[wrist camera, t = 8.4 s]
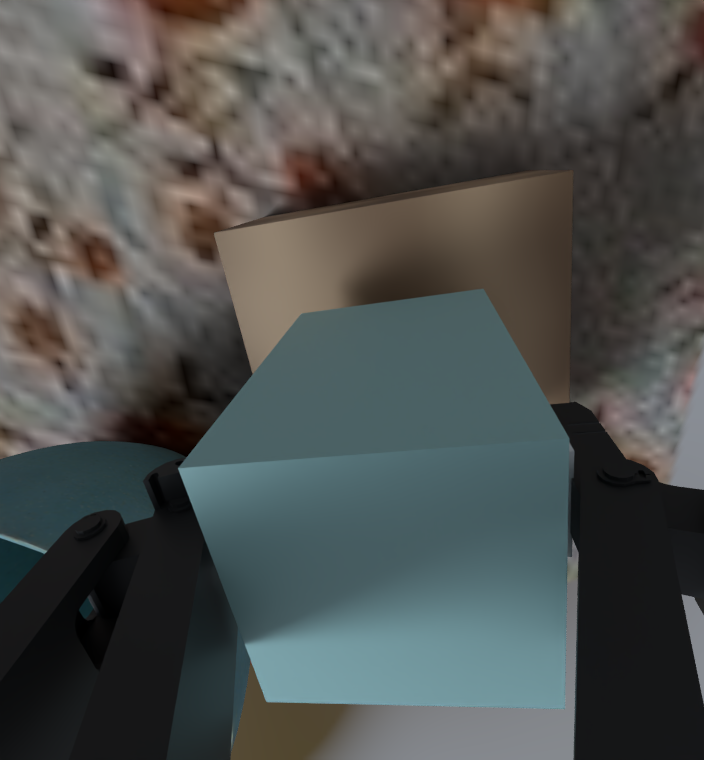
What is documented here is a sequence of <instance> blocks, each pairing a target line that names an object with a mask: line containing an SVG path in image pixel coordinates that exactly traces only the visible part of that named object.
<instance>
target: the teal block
mask: <svg viewBox="0 0 704 760" xmlns="http://www.w3.org/2000/svg"><path fill="white" fill-rule="evenodd" d="M178 470H179V472H180V475H181V478H182V480H183V483H184V485H185V488H186V491H187V493H188V496H189V499H190V501H191V504H192V507H193V509H194V512H195V514H196V517H197V520H198V522H199V525H200V528H201V530H202V533H203V536H204V538H205V541H206V543H207V546H208V549H209V551H210V554H211V557H212V559H213V562H214V565H215V567H216V570H217V572H218V575H219V578H220V580H221V583H222V586H223V588H224V591H225V594H226V596H227V599H228V601H229V604H230V607H231V609H232V612H233V615H234V617H235V620H236V623H237V625H238V628H239V630H240V633H241V636H242V638H243V641H244V644H245V646H246V649H247V652H248V654H249V657H250V659H251V662H252V665H253V667H254V670H255V673H256V675H257V678H258V681H259V683H260V686H261V688H262V691H263V694H264V696H265V699H266V702H291V703H332V704H335V703H336V704H374V705H377V704H378V705H417V706H418V705H419V706H420V705H421V706H459V707H461V706H462V707H501V708H503V707H504V708H544V709H565V673H566V672H565V670H566V613H567V609H566V607H567V552H568V491H569V437H568V435H567V433H566V432H565V430H564V428H563V426H562V425H561V423H560V421H559V419H558V418H557V416H556V414H555V412H554V411H553V409H552V407H551V405H550V404H549V402H548V400H547V399H546V397H545V395H544V393H543V392H542V390H541V388H540V386H539V385H538V383H537V381H536V379H535V378H534V376H533V374H532V372H531V371H530V369H529V367H528V365H527V364H526V362H525V360H524V358H523V357H522V355H521V353H520V351H519V350H518V348H517V346H516V345H515V343H514V341H513V339H512V338H511V336H510V334H509V332H508V331H507V329H506V327H505V325H504V324H503V322H502V320H501V318H500V317H499V315H498V313H497V311H496V310H495V308H494V306H493V304H492V303H491V301H490V299H489V297H488V296H487V294H486V292H485V291H484V289H477V290H470V291H462V292H455V293H448V294H440V295H433V296H426V297H418V298H411V299H404V300H396V301H389V302H382V303H374V304H367V305H360V306H352V307H345V308H338V309H330V310H323V311H316V312H308V313H301V314H300V316H299V317H298V318H297V319H296V321H295V322H294V323H293V324H292V326H291V327H290V328H289V330H288V331H287V332H286V333H285V335H284V336H283V337H282V338H281V340H280V341H279V342H278V343H277V345H276V346H275V347H274V348H273V350H272V351H271V352H270V353H269V355H268V356H267V357H266V358H265V360H264V361H263V362H262V363H261V365H260V366H259V367H258V368H257V370H256V371H255V372H254V373H253V375H252V376H251V377H250V378H249V380H248V381H247V382H246V384H245V385H244V386H243V387H242V389H241V390H240V391H239V392H238V394H237V395H236V396H235V397H234V399H233V400H232V401H231V402H230V404H229V405H228V406H227V407H226V409H225V410H224V411H223V412H222V414H221V415H220V416H219V417H218V419H217V420H216V421H215V422H214V424H213V425H212V426H211V427H210V429H209V430H208V431H207V432H206V434H205V435H204V436H203V438H202V439H201V440H200V441H199V443H198V444H197V445H196V446H195V448H194V449H193V450H192V451H191V453H190V454H189V455H188V456H187V458H186V459H185V460H184V461H183V463H182V464H181V465H180V466H179V468H178Z"/></svg>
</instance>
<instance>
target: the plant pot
mask: <svg viewBox="0 0 704 760" xmlns="http://www.w3.org/2000/svg"><path fill="white" fill-rule="evenodd" d="M181 458H187V457H185V456H183V455H181V454H179V453H177V452H174V451H172V450H169V449H166V448H162V447H157V446H153V445H147V444H141V443H131V442H118V441H94V442H79V443H71V444H64V445H57V446H52V447H47V448H42V449H37V450H32V451H29V452H25V453H21V454H17V455H14V456H10V457H6V458H3V459H0V603H1V602H2V601H3V600H4V599H5V598H6V597H7V596H8V594H9V593H10V592H11V591H12V590H13V589H14V588H15V587H16V585H17V584H18V583H19V582H20V581H21V580H22V579H23V578H24V577H25V575H26V574H27V573H28V572H29V571H30V570H31V569H32V568H33V566H34V565H35V564H36V563H37V562H38V561H39V560H40V559H41V557H42V556H43V555H44V554H45V553H46V552H47V551H48V550H49V548H50V547H51V546H52V545H53V544H54V543H55V542H56V541H57V539H58V538H59V537H60V536H61V535H62V534H63V533H64V532H65V531H66V530H67V529H68V528H69V527H70V526H71V525H72V524H74V523H75V522H77V521H79V520H80V519H81V518H83V517H84V516H86V515H90V514H91V513H94V512H99V511H103V510H116V511H117V512H119V513H120V514H121V516H122V518H123V520H124V523H125V524H128V523H131V522H135V521H139V520H142V519H146V518H150V517H153V514H154V511H155V509H154V507H153V504H152V502H151V500H150V497H149V495H148V493H147V490H146V488H145V485H144V483H143V480H144V479H145V477H146V476H147V475H148V474H149V473H150V472H151V471H153V470H154V469H155V468H157V467H159V466H161V465H163V464H165V463H167V462H170V461H173V460H176V459H181ZM92 610H93V606H92V605H91V603H90V601H89V599H88V597H87V599H86V600H85V601H84V603H83V604H82V606H81V607H80V609H79V611H80V613H81V614H82V616H83V617H84V618H85V619H86V618H87V617H88V616H89V614H90V613H91V611H92ZM249 667H250V657H249V654H248V652H247V649H246V646H245V644H244V641H243V638H242V636H241V633H240V630H239V628H238V635H237V653H236V670H235V687H234V704H233V722H232V739H231V751H232V747H233V744H234V740H235V737H236V734H237V730H238V726H239V721H240V717H241V712H242V708H243V703H244V698H245V692H246V687H247V681H248V674H249Z"/></svg>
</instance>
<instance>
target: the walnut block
mask: <svg viewBox="0 0 704 760" xmlns="http://www.w3.org/2000/svg"><path fill="white" fill-rule="evenodd" d="M572 222H573V170H528V171H522V172H517V173H511V174H505V175H500V176H494V177H488V178H483V179H477V180H471V181H466V182H460V183H454V184H449V185H443V186H438V187H432V188H426V189H421V190H415V191H409V192H404V193H398V194H392V195H387V196H381V197H375V198H370V199H364V200H359V201H353V202H347V203H342V204H336V205H330V206H325V207H319V208H313V209H308V210H302V211H297V212H291V213H285V214H280V215H274V216H268V217H263V218H260V219H257V220H254V221H250V222H247V223H244V224H241V225H238V226H234V227H231V228H228V229H225V230H222V231H218V232H215V233H214V236H215V240H216V243H217V247H218V250H219V254H220V258H221V261H222V265H223V269H224V272H225V276H226V279H227V283H228V287H229V290H230V294H231V297H232V301H233V305H234V308H235V312H236V316H237V319H238V323H239V326H240V330H241V334H242V337H243V341H244V345H245V348H246V352H247V355H248V359H249V363H250V366H251V370H252V373H254V372H255V371H256V370H257V368H258V367H259V366H260V365H261V363H262V362H263V361H264V360H265V358H266V357H267V356H268V355H269V353H270V352H271V351H272V350H273V348H274V347H275V346H276V345H277V343H278V342H279V341H280V340H281V338H282V337H283V336H284V335H285V333H286V332H287V331H288V330H289V328H290V327H291V326H292V324H293V323H294V322H295V321H296V319H297V318H298V317H299V316H300V314H301V313H308V312H316V311H323V310H330V309H338V308H345V307H352V306H360V305H367V304H374V303H382V302H389V301H396V300H404V299H411V298H418V297H426V296H433V295H440V294H448V293H455V292H462V291H470V290H477V289H484V291H485V292H486V294H487V296H488V297H489V299H490V301H491V303H492V304H493V306H494V308H495V310H496V311H497V313H498V315H499V317H500V318H501V320H502V322H503V324H504V325H505V327H506V329H507V331H508V332H509V334H510V336H511V338H512V339H513V341H514V343H515V345H516V346H517V348H518V350H519V351H520V353H521V355H522V357H523V358H524V360H525V362H526V364H527V365H528V367H529V369H530V371H531V372H532V374H533V376H534V378H535V379H536V381H537V383H538V385H539V386H540V388H541V390H542V392H543V393H544V395H545V397H546V399H547V400H548V402H549V404H559V403H569V396H570V338H571V280H572Z"/></svg>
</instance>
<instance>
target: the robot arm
mask: <svg viewBox="0 0 704 760" xmlns="http://www.w3.org/2000/svg"><path fill="white" fill-rule="evenodd" d="M550 405H551V407H552V409H553V411H554V412H555V414H556V416H557V418H558V419H559V421H560V423H561V425H562V426H563V428H564V430H565V432H566V433H567V435H568V437H569V491H568V552H567V557H572V538H573V540H574V543H575V545H576V547H577V550H578V552H579V562H578V594H577V595H578V602H577V642H576V683H575V724H574V760H704V704H703V699H702V694H701V689H700V684H699V679H698V674H697V670H696V664H695V659H694V654H693V649H692V644H691V640H690V635H689V630H688V625H687V620H686V615H685V610H684V605H683V600H682V595H681V594H683V595H688V596H692V597H695V600H696V602H697V604H698V606H699V607H700V609H701V611H702V613H703V614H704V490H700V489H692V488H685V487H677V486H672V485H667V484H663V483H660V482H659V481H658V479H657V477H656V476H655V474H654V472H652V471H651V470H650V469H648V468H647V467H645V466H644V465H642V464H639V463H637V462H634V461H631V460H626V458H625V457H624V455H623V454H622V453H621V451H620V450H619V449H618V447H617V446H616V444H615V443H614V442H613V440H612V439H611V438H610V436H609V435H608V433H607V432H605V429H604V428H603V426H602V425H601V424H600V423H599V421H598V420H597V418H596V417H595V415H594V414H593V413H592V411H591V410H589V409H587V408H586V407H584V406H582V405H580V404H578V403H577V402H571V403H559V404H550ZM185 459H186V458H181V459H176V460H173V461H170V462H167V463H165V464H163V465H161V466H159V467H157V468H155V469H154V470H153V471H151V472H150V473H149V474H148V475H147V476H146V477H145V479H144V480H143V483H144V485H145V488H146V490H147V493H148V495H149V497H150V500H151V502H152V504H153V507H154V509H155V511H154V514H153V517H150V518H146V519H142V520H139V521H135V522H131V523H128V524H125V523H124V520H123V518H122V516H121V514H120V513H119V512H117V511H116V510H103V511H99V512H94V513H91V514H90V515H86V516H84V517H83V518H81V519H80V520H79V521H77V522H75V523H74V524H72V525H71V526H70V527H69V528H68V529H67V530H66V531H65V532H64V533H63V534H62V535H61V536H60V537H59V538H58V539H57V541H56V542H55V543H54V544H53V545H52V546H51V547H50V548H49V550H48V551H47V552H46V553H45V554H44V555H43V556H42V557H41V559H40V560H39V561H38V562H37V563H36V564H35V565H34V566H33V568H32V569H31V570H30V571H29V572H28V573H27V574H26V575H25V577H24V578H23V579H22V580H21V581H20V582H19V583H18V584H17V585H16V587H15V588H14V589H13V590H12V591H11V592H10V593H9V594H8V596H7V597H6V598H5V599H4V600H3V601H2V602H1V603H0V760H230V756H231V739H232V722H233V704H234V687H235V670H236V653H237V635H238V625H237V623H236V620H235V617H234V615H233V612H232V609H231V607H230V604H229V601H228V599H227V596H226V594H225V591H224V588H223V586H222V583H221V580H220V578H219V575H218V572H217V570H216V567H215V565H214V562H213V559H212V557H211V554H210V551H209V549H208V546H207V543H206V541H205V538H204V536H203V533H202V530H201V528H200V525H199V522H198V520H197V517H196V514H195V512H194V509H193V507H192V504H191V501H190V499H189V496H188V493H187V491H186V488H185V485H184V483H183V480H182V478H181V475H180V472H179V470H178V468H179V466H180V465H181V464H182V463H183V461H184V460H185ZM87 597H88V599H89V601H90V603H91V605H92V606H93V610H92V611H91V613H90V614H89V616H88V617H87V618H86V619H85V618H84V617H83V616H82V614H81V613H80V611H79V609H80V607H81V606H82V604H83V603H84V601H85V600H86V599H87Z"/></svg>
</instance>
